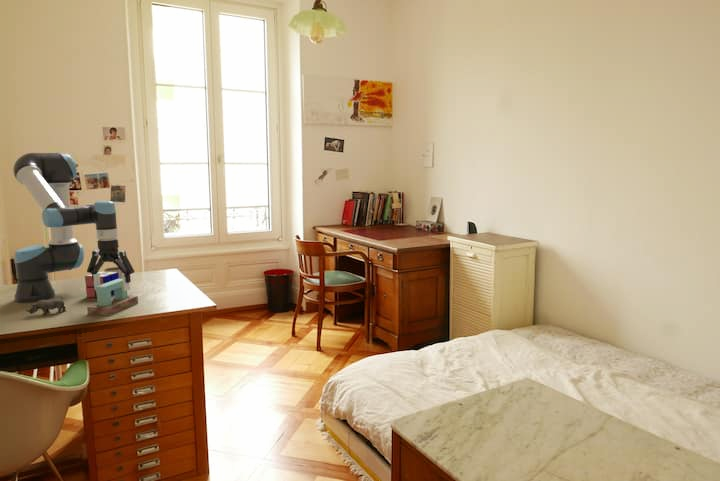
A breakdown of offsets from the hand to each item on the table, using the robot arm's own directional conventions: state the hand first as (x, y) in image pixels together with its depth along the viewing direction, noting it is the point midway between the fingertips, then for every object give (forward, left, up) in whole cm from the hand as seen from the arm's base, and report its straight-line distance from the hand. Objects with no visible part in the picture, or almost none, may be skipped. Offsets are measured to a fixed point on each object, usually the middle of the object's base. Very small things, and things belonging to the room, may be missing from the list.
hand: (112, 289), depth 201 cm
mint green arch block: (0, 0, -8) cm, 8 cm away
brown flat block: (0, 0, -8) cm, 8 cm away
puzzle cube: (-19, +18, -8) cm, 27 cm away
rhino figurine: (-22, -11, -8) cm, 26 cm away
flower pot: (-25, +34, -8) cm, 43 cm away
